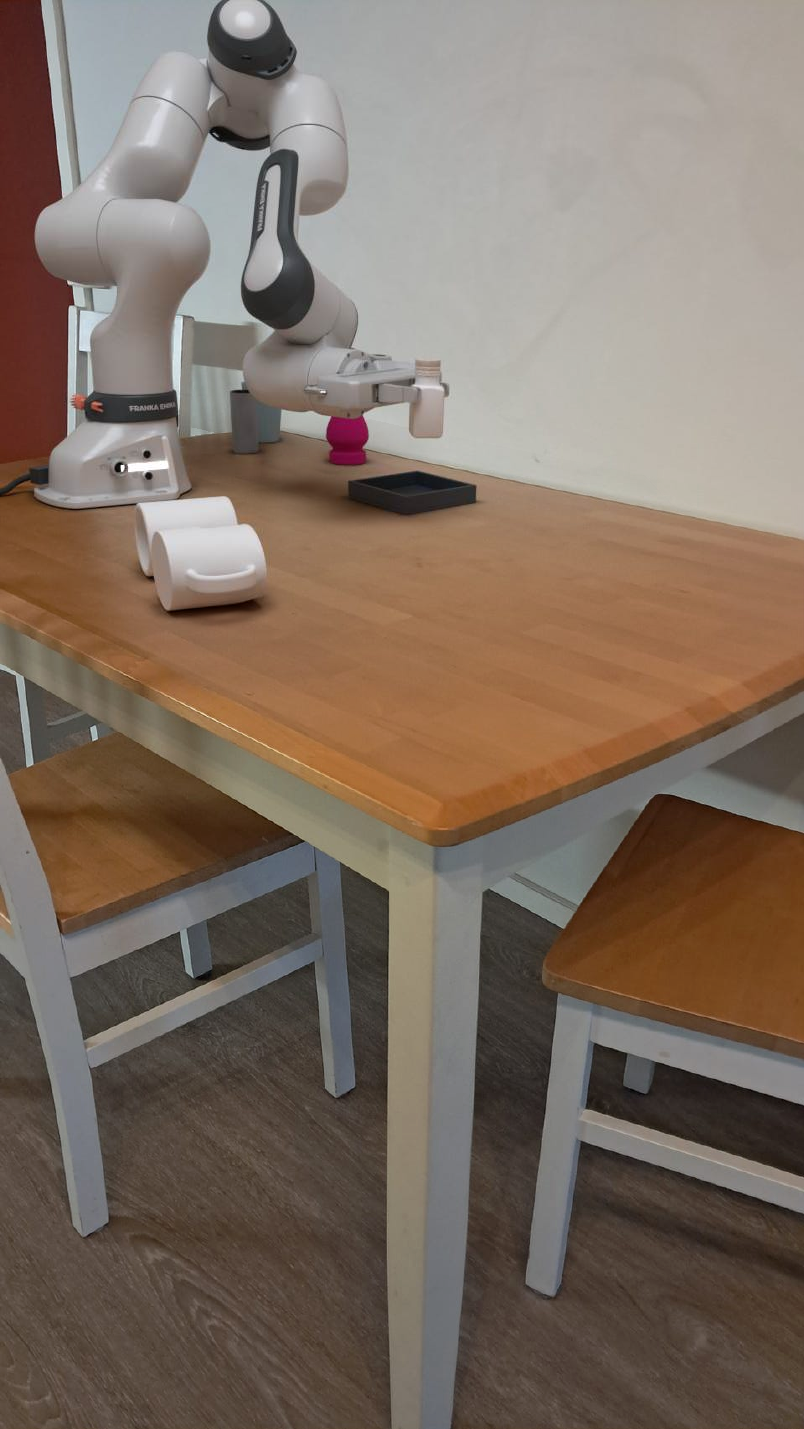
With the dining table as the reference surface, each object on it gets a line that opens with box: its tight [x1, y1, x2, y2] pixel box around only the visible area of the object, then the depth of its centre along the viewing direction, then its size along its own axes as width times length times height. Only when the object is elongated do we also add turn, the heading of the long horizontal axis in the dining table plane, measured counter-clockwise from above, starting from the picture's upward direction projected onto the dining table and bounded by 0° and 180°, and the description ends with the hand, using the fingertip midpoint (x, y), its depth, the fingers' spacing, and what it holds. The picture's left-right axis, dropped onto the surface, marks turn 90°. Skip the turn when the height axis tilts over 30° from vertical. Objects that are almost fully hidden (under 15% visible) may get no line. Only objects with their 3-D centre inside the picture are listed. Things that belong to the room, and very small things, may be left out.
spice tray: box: [347, 470, 478, 516], centre depth 154 cm, size 13×13×2 cm
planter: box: [229, 389, 260, 455], centre depth 186 cm, size 4×4×10 cm
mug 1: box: [133, 495, 239, 577], centre depth 120 cm, size 12×10×8 cm
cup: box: [240, 380, 282, 444], centre depth 197 cm, size 8×8×10 cm
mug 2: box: [151, 523, 268, 611], centre depth 107 cm, size 12×9×8 cm
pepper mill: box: [325, 347, 370, 466], centre depth 177 cm, size 7×7×20 cm
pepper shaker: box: [408, 357, 445, 439], centre depth 135 cm, size 4×4×10 cm
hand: (432, 392), depth 134 cm, fingers closed on pepper shaker, 5 cm apart
